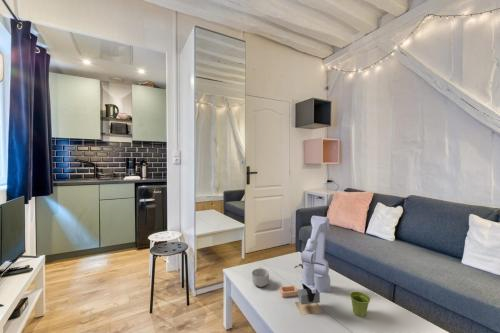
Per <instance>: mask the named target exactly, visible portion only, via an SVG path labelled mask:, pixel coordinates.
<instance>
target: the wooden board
mask: <svg viewBox="0 0 500 333" xmlns="http://www.w3.org/2000/svg"><path fill="white" fill-rule="evenodd" d="M294 303H295V305H296V307H297V309H298V311H299V314H300V316H304V315H312V314H313V315H314V314H319V313H320V314H322V313H324V311H323V309H322V307H321V306H320V303H311V304H303V305H301V303H300V301H295V302H294Z"/></svg>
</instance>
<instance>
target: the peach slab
mask: <svg viewBox="0 0 500 333" xmlns="http://www.w3.org/2000/svg"><path fill="white" fill-rule="evenodd" d="M279 293H280V295H281V297H282V298H283V299H285V298H292V297H298V289H297V287H296V286H295V284H294V285H293V284H292V285H285V286H279Z"/></svg>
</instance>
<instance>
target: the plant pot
mask: <svg viewBox="0 0 500 333" xmlns="http://www.w3.org/2000/svg"><path fill="white" fill-rule="evenodd" d="M349 297H350V300H351V306H352V312H353V313H354V315H355V316H357V317H360V318H362V317H363V318H364V317H366V316H367V312H368V306H369V304H370V301H371V298H370V296H369V295H368V294H366V293H365V292H363V291H359V290H358V291H357V290H355V291H350V293H349Z"/></svg>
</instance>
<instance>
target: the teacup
mask: <svg viewBox="0 0 500 333" xmlns="http://www.w3.org/2000/svg"><path fill="white" fill-rule="evenodd" d="M269 273H270V271H269V270H268V269H267V268H264V267H263V268H262V267H261V266H259V267H258V268H256V269H253V270H252V271H251V279H252V283H253V285H255V286H256V287H257V288H263V287H266V285H268V284H269V281H270V274H269Z"/></svg>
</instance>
